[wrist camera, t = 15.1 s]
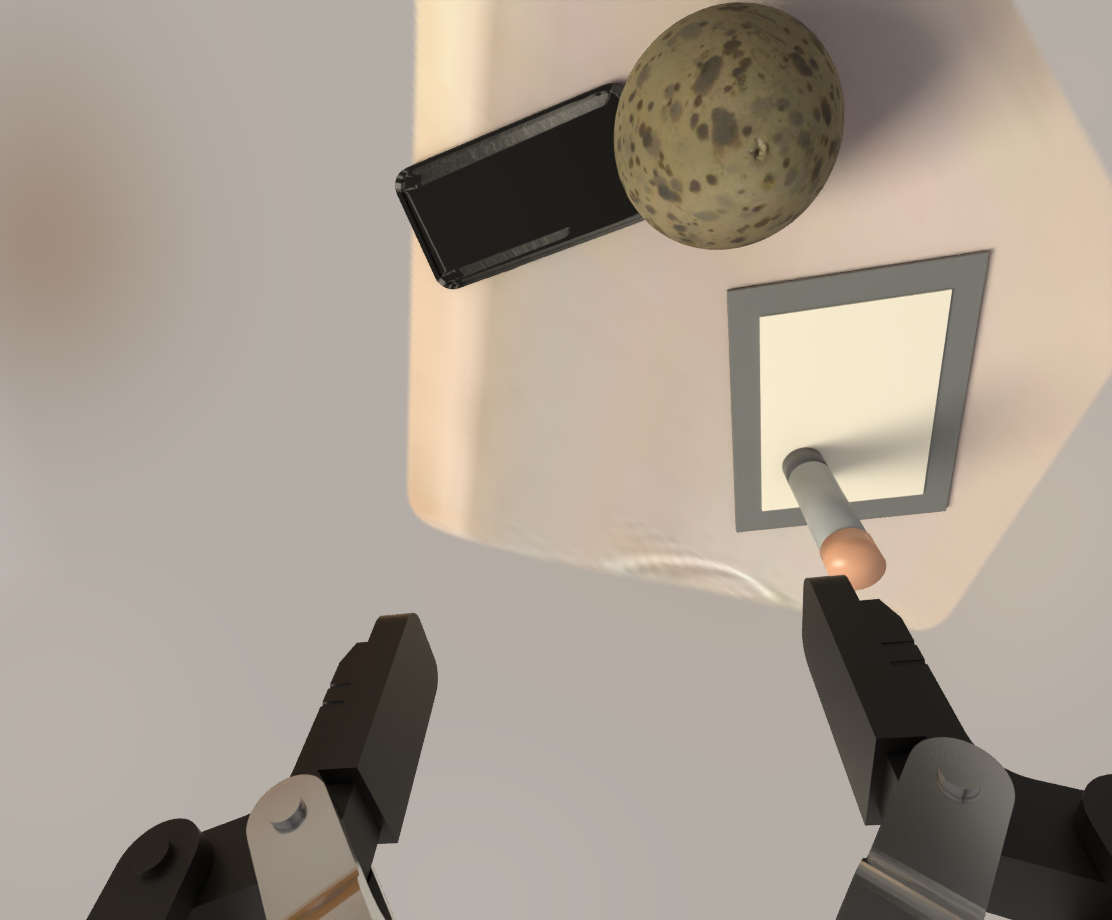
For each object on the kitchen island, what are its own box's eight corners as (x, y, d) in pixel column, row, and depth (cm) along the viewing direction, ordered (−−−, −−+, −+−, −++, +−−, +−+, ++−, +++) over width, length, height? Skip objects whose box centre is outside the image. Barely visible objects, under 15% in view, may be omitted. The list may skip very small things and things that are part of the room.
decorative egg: (815, 13, 35) (944, -21, 22) (780, 222, 40) (866, 293, 27) (615, 14, 35) (626, -17, 22) (607, 221, 41) (613, 290, 28)
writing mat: (727, 290, 43) (728, 292, 42) (985, 250, 41) (990, 253, 40) (735, 529, 53) (737, 533, 52) (943, 507, 51) (947, 512, 50)
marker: (780, 448, 48) (830, 551, 38) (825, 443, 48) (888, 546, 37) (780, 484, 50) (828, 592, 39) (823, 479, 49) (883, 587, 39)
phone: (388, 175, 39) (623, 76, 36) (393, 173, 40) (622, 76, 37) (443, 295, 43) (661, 216, 40) (446, 290, 44) (659, 212, 41)
